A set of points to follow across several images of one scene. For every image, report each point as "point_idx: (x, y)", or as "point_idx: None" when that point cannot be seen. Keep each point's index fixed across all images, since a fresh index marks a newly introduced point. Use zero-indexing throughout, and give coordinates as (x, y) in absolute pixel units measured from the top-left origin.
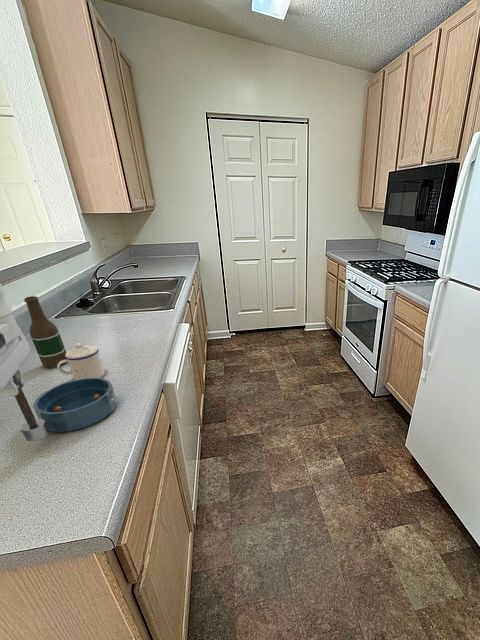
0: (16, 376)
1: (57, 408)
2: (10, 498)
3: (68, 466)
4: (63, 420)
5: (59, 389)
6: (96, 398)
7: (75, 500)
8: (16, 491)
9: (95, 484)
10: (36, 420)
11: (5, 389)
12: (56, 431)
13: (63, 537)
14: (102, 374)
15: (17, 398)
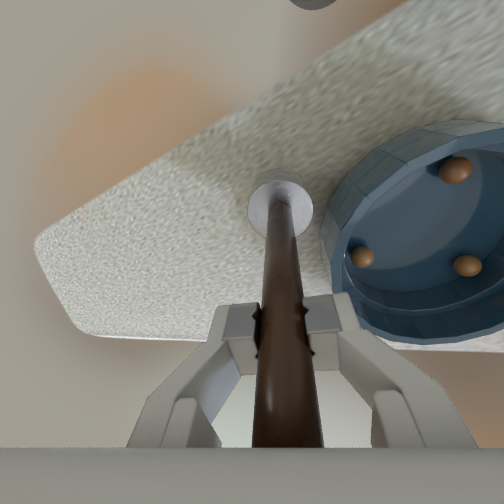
0: (356, 377)
1: (451, 177)
2: (115, 194)
3: (197, 263)
4: (326, 247)
5: None
6: (457, 267)
7: (120, 295)
8: (132, 196)
9: (152, 311)
10: (303, 213)
11: (207, 341)
12: (328, 202)
13: (62, 299)
14: None
15: (263, 282)
